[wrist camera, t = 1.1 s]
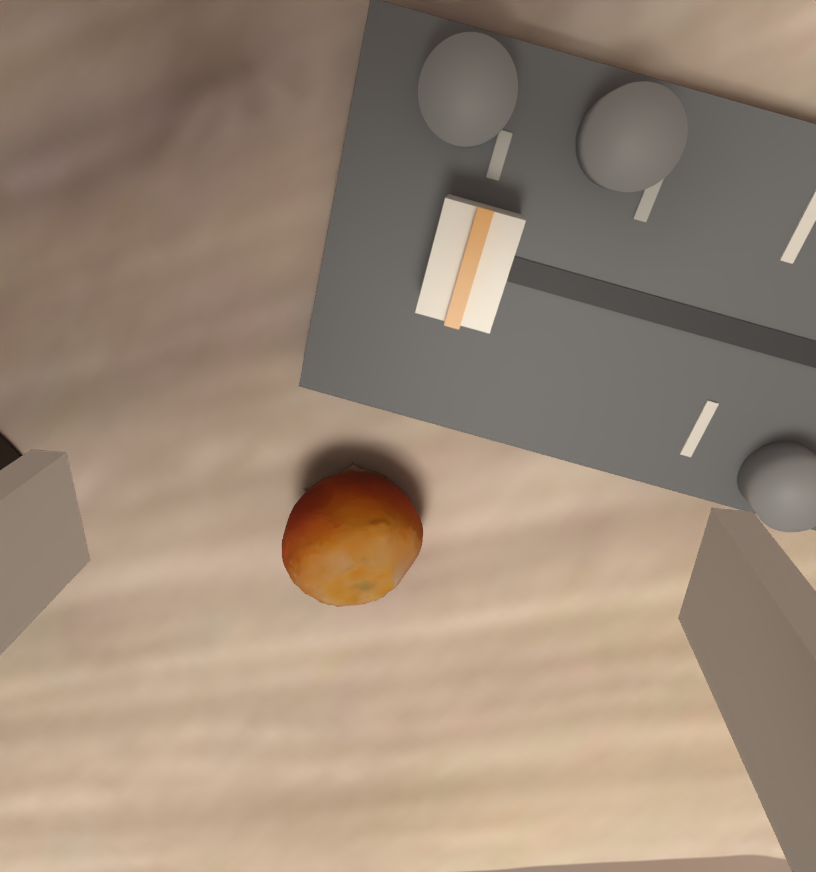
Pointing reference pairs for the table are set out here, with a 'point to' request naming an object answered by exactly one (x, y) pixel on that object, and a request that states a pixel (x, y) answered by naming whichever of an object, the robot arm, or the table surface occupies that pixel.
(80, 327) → the table surface
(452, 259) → the fader
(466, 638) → the table surface
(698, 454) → the console
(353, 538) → the fruit
